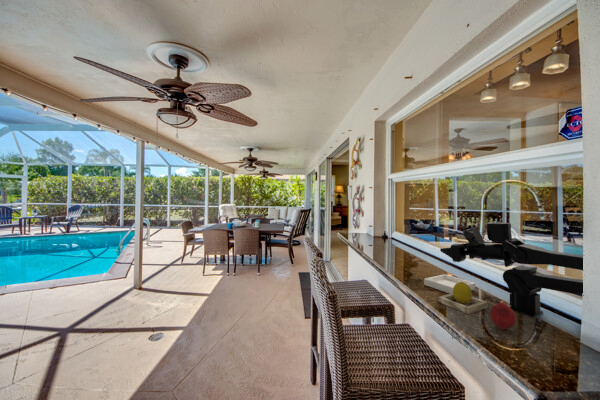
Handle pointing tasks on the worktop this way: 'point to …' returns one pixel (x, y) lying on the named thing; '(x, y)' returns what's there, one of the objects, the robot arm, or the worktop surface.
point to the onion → (503, 315)
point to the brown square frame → (469, 309)
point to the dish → (446, 283)
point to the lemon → (462, 293)
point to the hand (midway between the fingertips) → (447, 248)
